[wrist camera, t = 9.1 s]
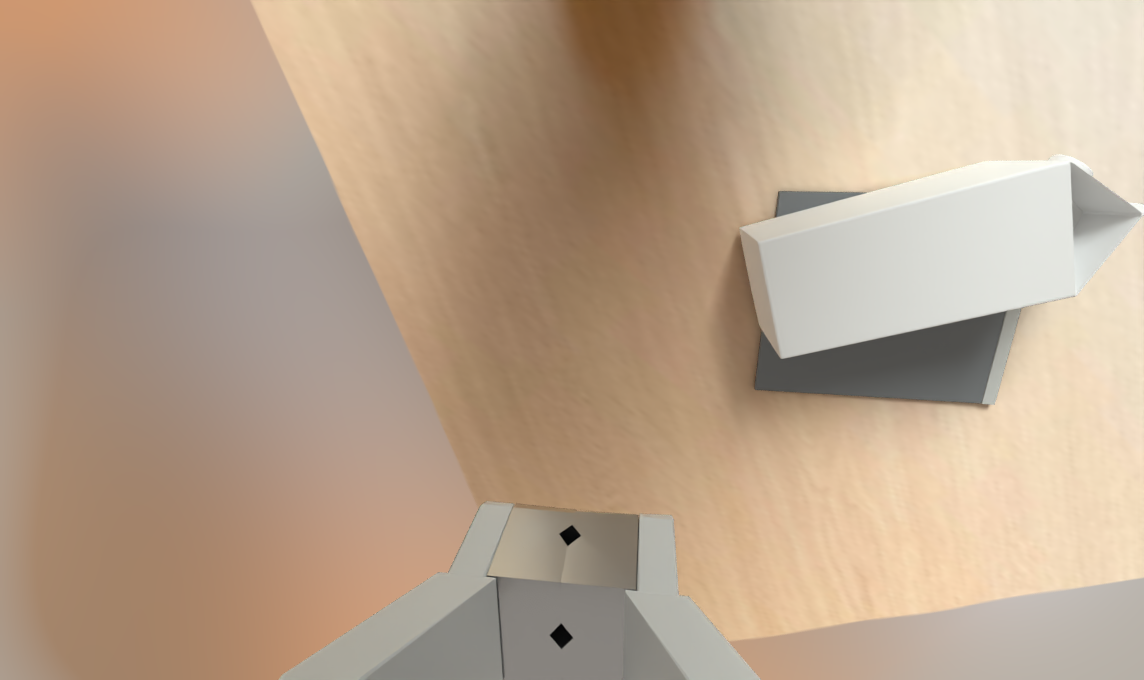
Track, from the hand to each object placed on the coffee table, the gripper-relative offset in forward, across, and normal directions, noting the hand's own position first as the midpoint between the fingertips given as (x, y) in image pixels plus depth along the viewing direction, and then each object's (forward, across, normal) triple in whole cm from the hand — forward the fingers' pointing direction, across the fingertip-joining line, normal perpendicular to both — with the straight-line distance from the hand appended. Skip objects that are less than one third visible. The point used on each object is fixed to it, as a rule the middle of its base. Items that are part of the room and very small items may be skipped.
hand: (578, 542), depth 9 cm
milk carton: (+27, -8, +2) cm, 28 cm away
